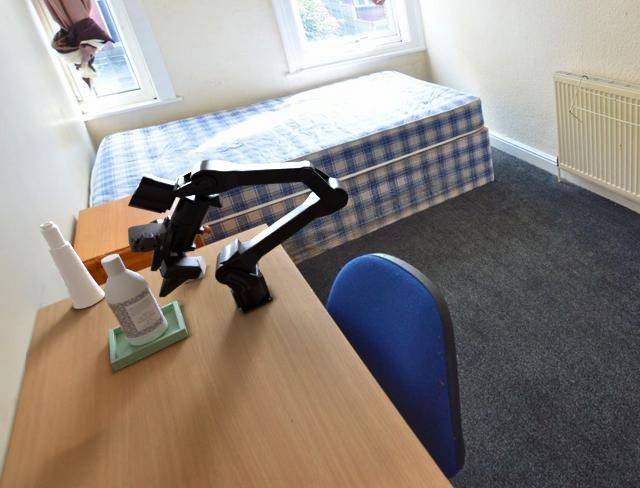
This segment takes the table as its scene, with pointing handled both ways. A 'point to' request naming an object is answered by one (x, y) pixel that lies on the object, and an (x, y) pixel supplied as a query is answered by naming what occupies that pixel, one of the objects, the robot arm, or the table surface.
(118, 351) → the toiletries tray
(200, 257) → the usb wall charger
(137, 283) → the bath foam
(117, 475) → the table surface
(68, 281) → the cosmetic bottle
